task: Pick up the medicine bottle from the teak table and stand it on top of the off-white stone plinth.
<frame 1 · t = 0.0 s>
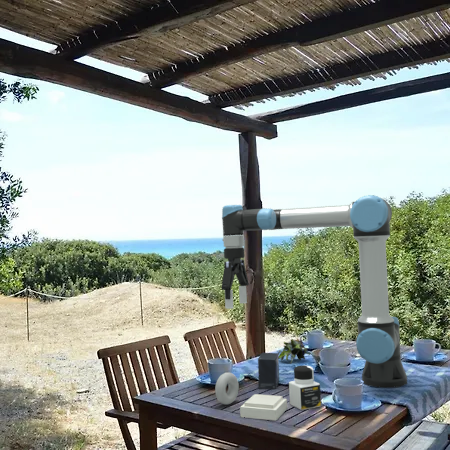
hand: (236, 305, 198), 28 cm above the table, tool pointing down, fingers open, 13 cm apart
plinth: (264, 412, 164), on the table
medicine bottle: (305, 406, 169), on the table
passion flower: (293, 362, 226), on the table
donut: (227, 404, 174), on the table
small box: (269, 385, 193), on the table
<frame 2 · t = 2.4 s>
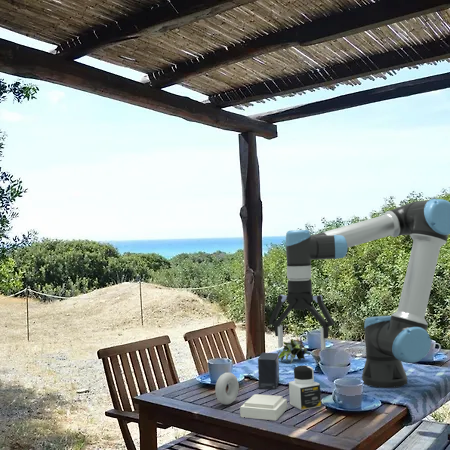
hand: (301, 348, 169), 18 cm above the table, tool pointing down, fingers open, 13 cm apart
nothing on the table moved.
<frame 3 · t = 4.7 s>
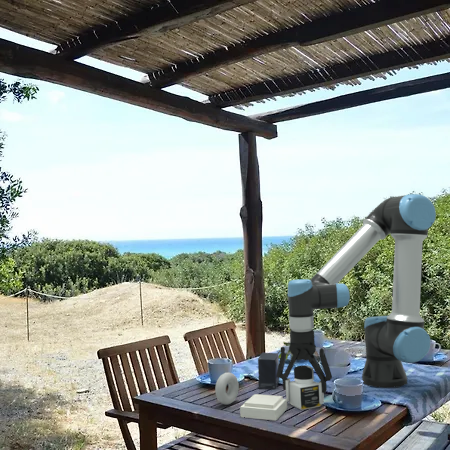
hand: (305, 401, 169), 1 cm above the table, tool pointing down, fingers closed on medicine bottle, 10 cm apart
medicine bottle: (305, 406, 169), on the table, touching gripper
everything else where it was.
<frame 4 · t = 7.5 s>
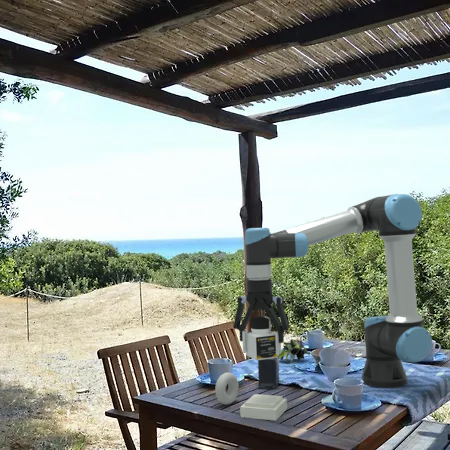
hand: (262, 352, 164), 18 cm above the table, tool pointing down, fingers closed on medicine bottle, 10 cm apart
medicine bottle: (262, 357, 164), point 17 cm above the table, touching gripper
everything else where it was.
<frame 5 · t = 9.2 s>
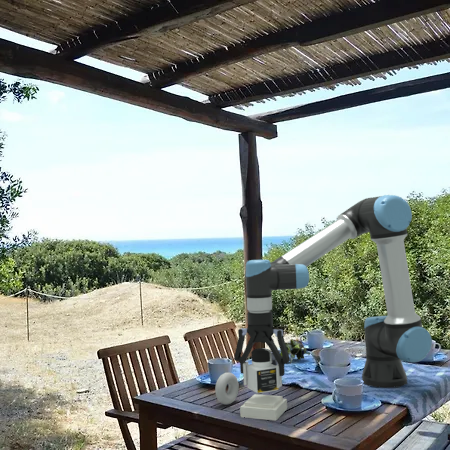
hand: (262, 385, 164), 8 cm above the table, tool pointing down, fingers closed on medicine bottle, 10 cm apart
medicine bottle: (262, 390, 164), point 7 cm above the table, touching gripper
everything else where it was.
when the fingers open (6 cm above the table, at t = 10.6 s): medicine bottle stays where it is, resting on plinth.
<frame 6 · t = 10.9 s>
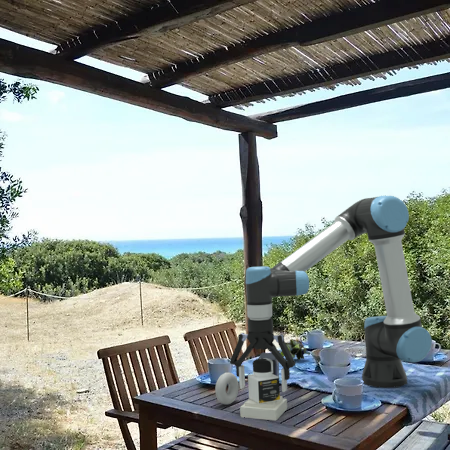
hand: (263, 389, 164), 7 cm above the table, tool pointing down, fingers open, 13 cm apart
medicine bottle: (264, 400, 164), point 4 cm above the table, touching plinth
everything else where it was.
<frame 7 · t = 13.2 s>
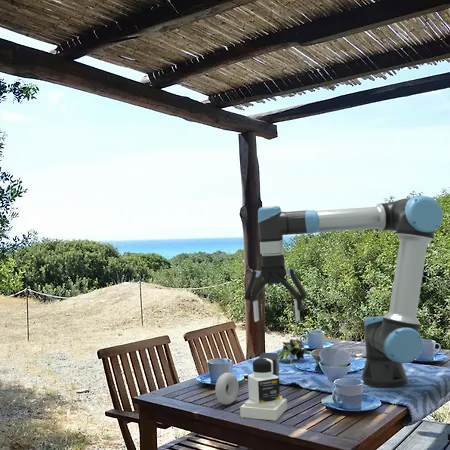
hand: (277, 321, 174), 26 cm above the table, tool pointing down, fingers open, 13 cm apart
nothing on the table moved.
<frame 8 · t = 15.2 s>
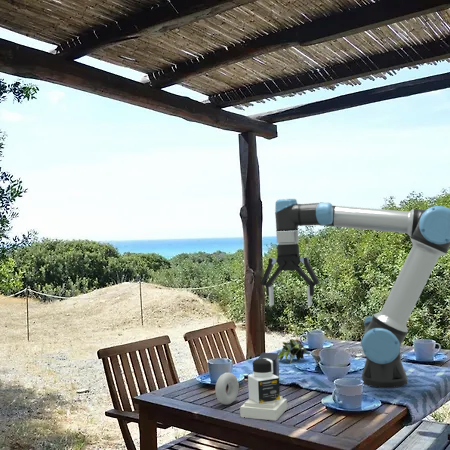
hand: (290, 305, 187), 29 cm above the table, tool pointing down, fingers open, 13 cm apart
nothing on the table moved.
at the end: medicine bottle inside the target area on the plinth (0.2 cm from its centre), point 3.8 cm above the plinth's base; medicine bottle tilted 0°; the gripper is holding nothing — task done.
